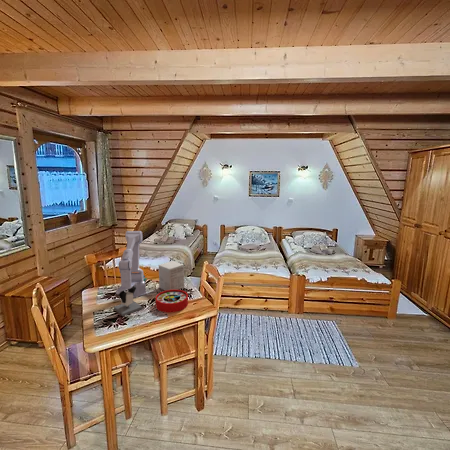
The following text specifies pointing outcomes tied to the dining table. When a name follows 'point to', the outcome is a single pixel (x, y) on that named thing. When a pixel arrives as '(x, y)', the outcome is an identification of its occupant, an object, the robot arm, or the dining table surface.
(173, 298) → the toy clock
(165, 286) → the supplement box
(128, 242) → the robot arm
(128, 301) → the block
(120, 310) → the stub plate
